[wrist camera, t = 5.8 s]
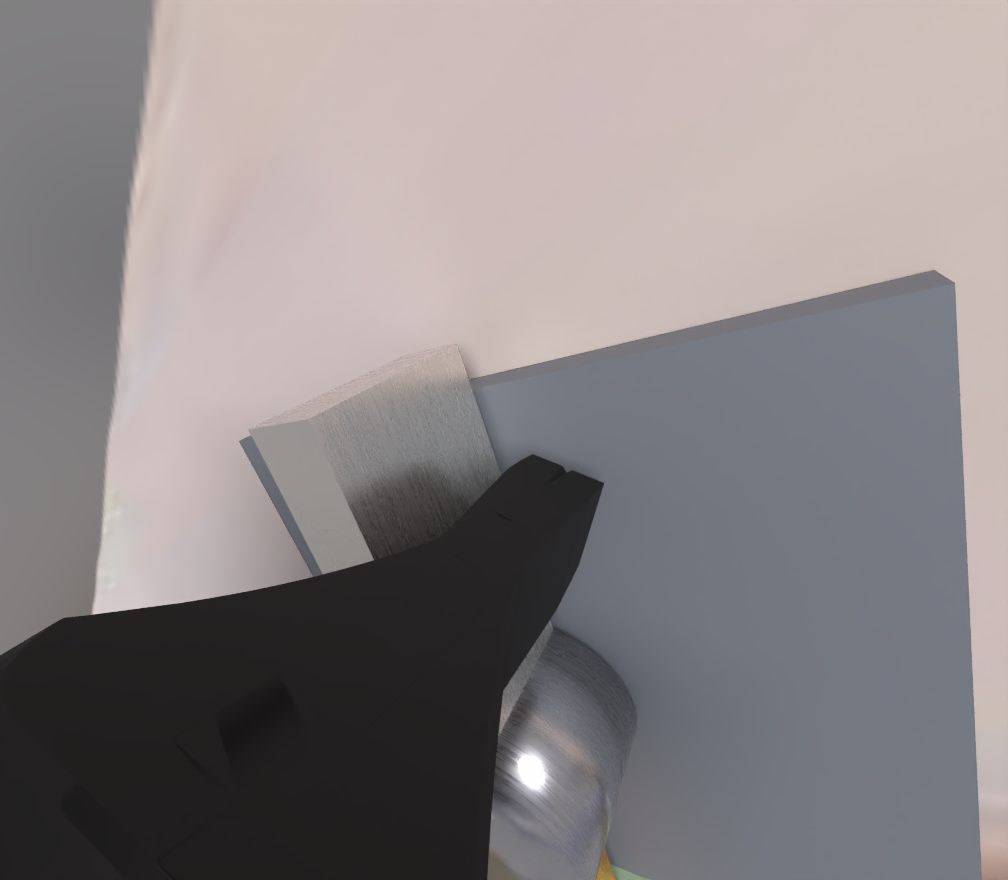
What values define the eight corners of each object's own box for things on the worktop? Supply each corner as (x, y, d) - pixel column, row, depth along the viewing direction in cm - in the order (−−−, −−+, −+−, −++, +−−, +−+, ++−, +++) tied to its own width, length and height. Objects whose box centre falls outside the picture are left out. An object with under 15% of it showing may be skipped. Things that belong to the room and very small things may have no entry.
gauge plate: (979, 1046, 12) (995, 1122, 11) (482, 837, 21) (466, 871, 20) (934, 270, 6) (961, 287, 5) (267, 427, 15) (229, 445, 14)
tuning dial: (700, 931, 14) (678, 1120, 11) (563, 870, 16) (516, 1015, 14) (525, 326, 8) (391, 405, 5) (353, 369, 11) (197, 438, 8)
